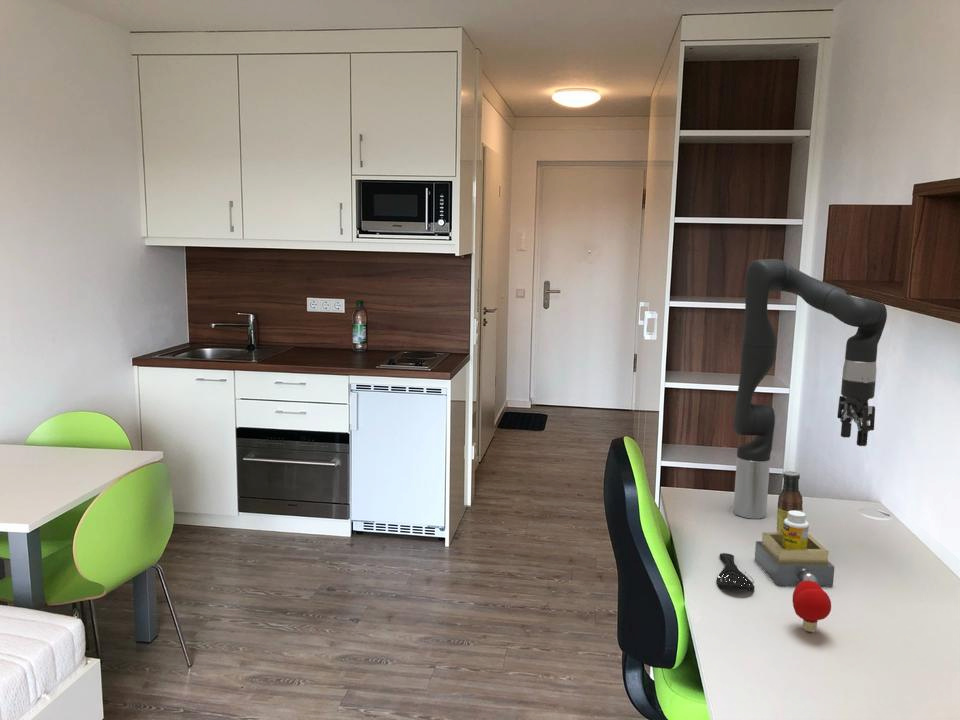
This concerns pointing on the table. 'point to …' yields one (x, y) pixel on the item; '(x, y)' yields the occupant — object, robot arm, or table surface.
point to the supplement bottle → (795, 531)
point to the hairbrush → (733, 575)
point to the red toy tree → (811, 604)
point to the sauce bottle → (788, 498)
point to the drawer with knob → (794, 561)
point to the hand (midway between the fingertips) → (853, 441)
